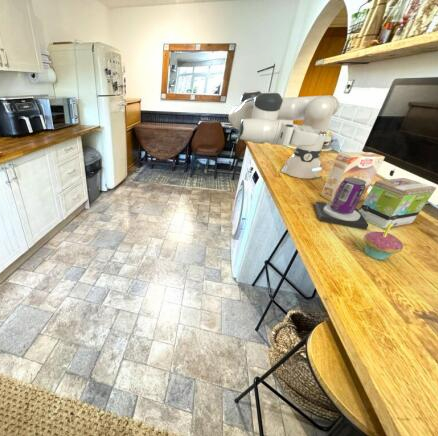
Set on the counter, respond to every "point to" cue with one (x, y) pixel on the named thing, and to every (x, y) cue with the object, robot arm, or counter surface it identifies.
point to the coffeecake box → (352, 171)
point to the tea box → (395, 201)
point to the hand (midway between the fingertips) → (328, 136)
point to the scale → (340, 216)
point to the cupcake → (382, 244)
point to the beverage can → (348, 195)
